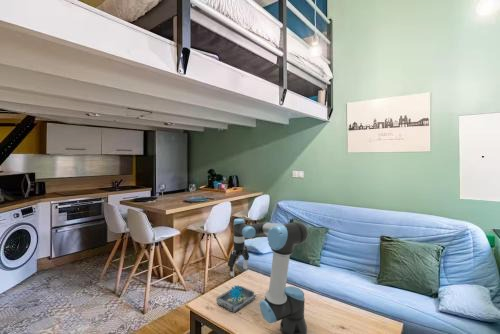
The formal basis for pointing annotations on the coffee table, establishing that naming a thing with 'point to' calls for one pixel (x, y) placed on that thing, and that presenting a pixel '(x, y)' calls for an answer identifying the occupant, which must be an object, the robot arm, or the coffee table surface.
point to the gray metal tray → (235, 305)
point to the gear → (236, 293)
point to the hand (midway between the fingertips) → (238, 272)
